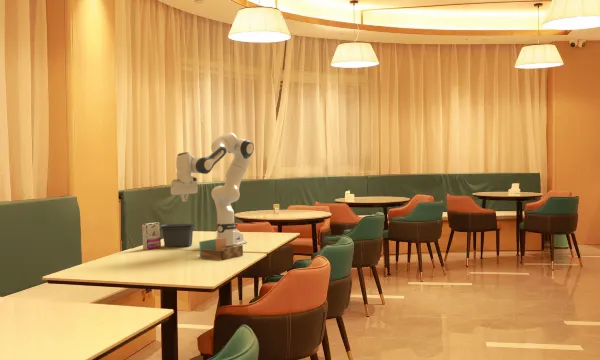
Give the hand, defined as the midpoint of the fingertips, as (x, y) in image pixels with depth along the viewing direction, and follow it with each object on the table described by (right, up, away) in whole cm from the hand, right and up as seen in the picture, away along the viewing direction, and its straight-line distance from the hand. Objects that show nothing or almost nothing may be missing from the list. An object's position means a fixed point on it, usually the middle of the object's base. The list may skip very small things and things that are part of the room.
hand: (184, 201), depth 396 cm
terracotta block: (+25, -30, -19) cm, 43 cm away
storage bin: (-10, -31, +32) cm, 45 cm away
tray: (+24, -31, -18) cm, 43 cm away
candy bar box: (-25, -31, +21) cm, 45 cm away
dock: (+25, -31, -19) cm, 45 cm away
